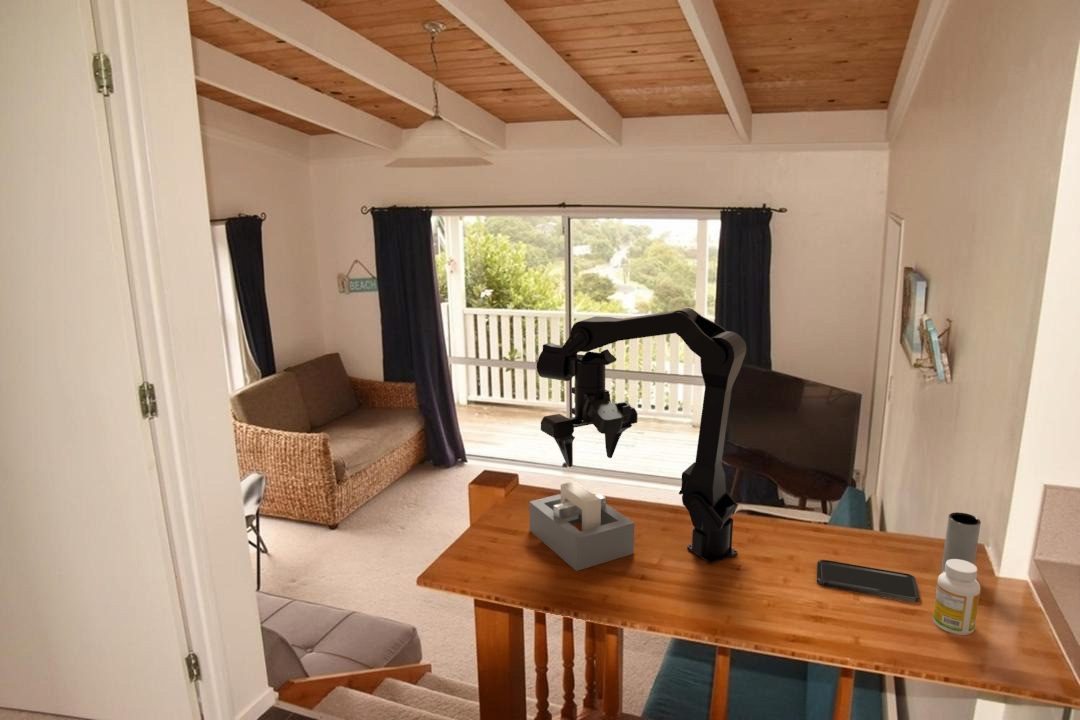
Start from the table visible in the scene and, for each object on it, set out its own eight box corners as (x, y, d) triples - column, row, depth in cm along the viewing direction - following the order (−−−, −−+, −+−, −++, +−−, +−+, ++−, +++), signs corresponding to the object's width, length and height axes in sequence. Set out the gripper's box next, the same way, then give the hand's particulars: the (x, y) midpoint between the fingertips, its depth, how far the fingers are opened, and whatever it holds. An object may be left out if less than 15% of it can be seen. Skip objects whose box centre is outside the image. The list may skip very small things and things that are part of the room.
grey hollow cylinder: (976, 583, 114) (985, 525, 112) (946, 580, 115) (954, 523, 113) (966, 569, 119) (974, 513, 116) (937, 566, 120) (944, 511, 117)
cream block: (574, 515, 133) (574, 481, 132) (600, 535, 126) (600, 498, 124) (560, 519, 132) (560, 484, 130) (586, 539, 124) (586, 502, 123)
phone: (817, 558, 121) (914, 574, 116) (816, 564, 122) (914, 580, 116) (816, 581, 114) (920, 599, 109) (816, 587, 114) (919, 606, 109)
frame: (583, 516, 140) (583, 488, 138) (633, 553, 125) (634, 522, 124) (529, 530, 134) (529, 501, 133) (576, 571, 120) (576, 538, 118)
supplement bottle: (959, 613, 106) (968, 555, 104) (982, 635, 101) (992, 574, 99) (924, 614, 106) (932, 556, 104) (946, 636, 101) (954, 575, 99)
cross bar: (599, 503, 131) (600, 493, 131) (605, 507, 130) (606, 497, 129) (553, 515, 127) (553, 505, 126) (559, 520, 125) (559, 509, 125)
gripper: (569, 402, 121) (569, 486, 125) (656, 387, 130) (654, 466, 133) (538, 387, 130) (539, 465, 134) (621, 374, 139) (620, 448, 143)
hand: (589, 461), depth 136 cm, fingers open, 9 cm apart
